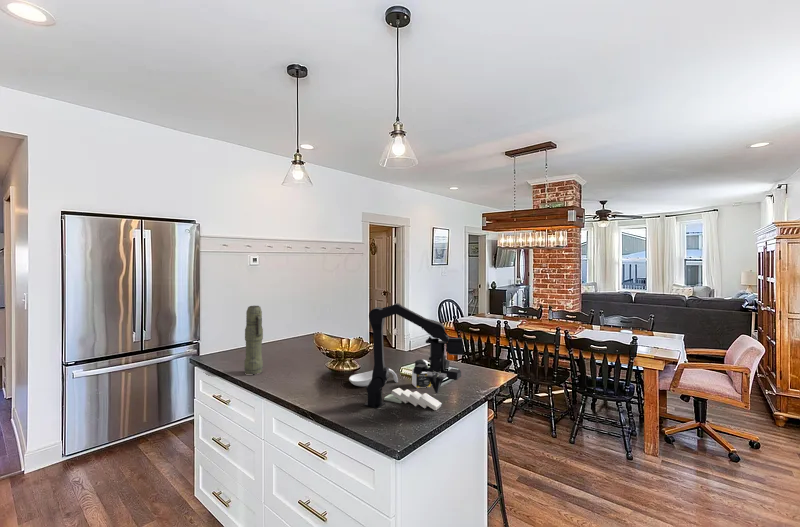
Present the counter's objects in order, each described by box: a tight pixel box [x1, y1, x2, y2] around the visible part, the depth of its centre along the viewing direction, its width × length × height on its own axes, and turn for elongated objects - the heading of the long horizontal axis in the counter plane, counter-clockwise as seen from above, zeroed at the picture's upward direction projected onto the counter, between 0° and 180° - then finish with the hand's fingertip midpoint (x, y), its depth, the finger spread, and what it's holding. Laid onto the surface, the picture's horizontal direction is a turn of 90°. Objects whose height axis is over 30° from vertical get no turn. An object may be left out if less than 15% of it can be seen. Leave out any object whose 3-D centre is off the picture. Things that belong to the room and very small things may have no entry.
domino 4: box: [419, 392, 442, 411], centre depth 156 cm, size 2×5×8 cm
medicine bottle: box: [411, 359, 432, 389], centre depth 183 cm, size 7×7×12 cm
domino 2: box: [400, 388, 420, 407], centre depth 160 cm, size 2×5×8 cm
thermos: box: [243, 305, 264, 374], centre depth 201 cm, size 9×12×35 cm
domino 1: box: [391, 387, 410, 404], centre depth 163 cm, size 2×5×8 cm
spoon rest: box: [348, 368, 399, 387], centre depth 186 cm, size 24×12×7 cm, turn 108°
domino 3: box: [409, 390, 429, 409], centre depth 158 cm, size 2×5×8 cm
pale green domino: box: [383, 394, 404, 404], centre depth 164 cm, size 2×5×8 cm
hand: (436, 392), depth 154 cm, fingers closed
